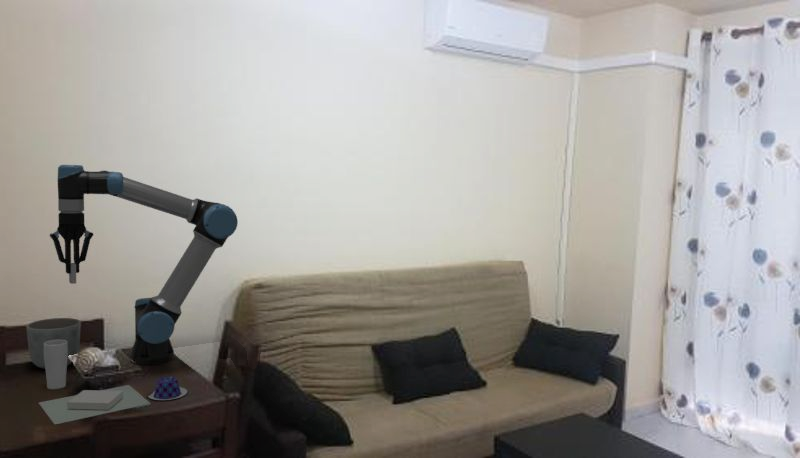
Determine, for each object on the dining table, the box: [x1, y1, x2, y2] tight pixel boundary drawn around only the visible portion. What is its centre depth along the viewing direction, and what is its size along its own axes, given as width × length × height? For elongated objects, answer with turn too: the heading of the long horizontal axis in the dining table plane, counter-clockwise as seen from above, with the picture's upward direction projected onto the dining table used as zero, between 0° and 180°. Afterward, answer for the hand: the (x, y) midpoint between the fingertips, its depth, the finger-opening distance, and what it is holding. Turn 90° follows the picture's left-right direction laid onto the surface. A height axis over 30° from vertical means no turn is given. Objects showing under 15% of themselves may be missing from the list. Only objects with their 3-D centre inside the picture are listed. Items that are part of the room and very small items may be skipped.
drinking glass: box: [44, 340, 68, 390], centre depth 200 cm, size 7×7×15 cm
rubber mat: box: [38, 384, 152, 425], centre depth 188 cm, size 26×20×1 cm
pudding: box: [147, 376, 188, 401], centre depth 198 cm, size 12×12×5 cm
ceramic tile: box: [67, 389, 123, 410], centre depth 188 cm, size 2×10×12 cm
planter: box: [25, 317, 82, 369], centre depth 222 cm, size 17×17×15 cm
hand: (72, 282), depth 208 cm, fingers closed
